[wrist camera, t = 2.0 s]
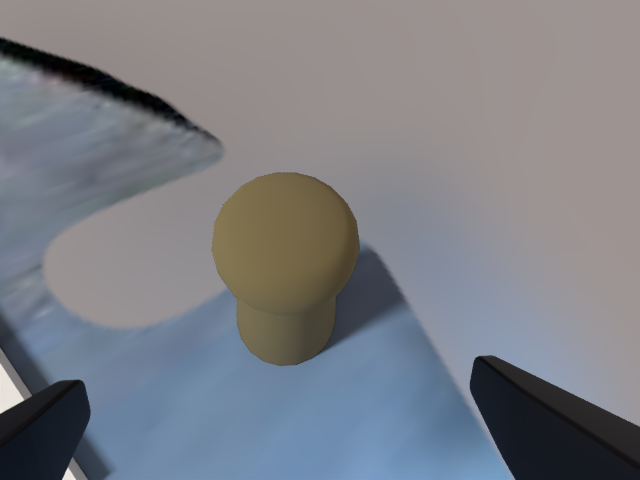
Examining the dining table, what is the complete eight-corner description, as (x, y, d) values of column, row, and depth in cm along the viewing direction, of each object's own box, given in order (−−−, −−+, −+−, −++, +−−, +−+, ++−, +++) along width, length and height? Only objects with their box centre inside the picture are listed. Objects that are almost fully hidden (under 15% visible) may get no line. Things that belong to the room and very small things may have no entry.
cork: (217, 339, 19) (143, 256, 9) (266, 254, 21) (249, 124, 12) (312, 384, 18) (342, 347, 8) (349, 291, 21) (403, 183, 11)
